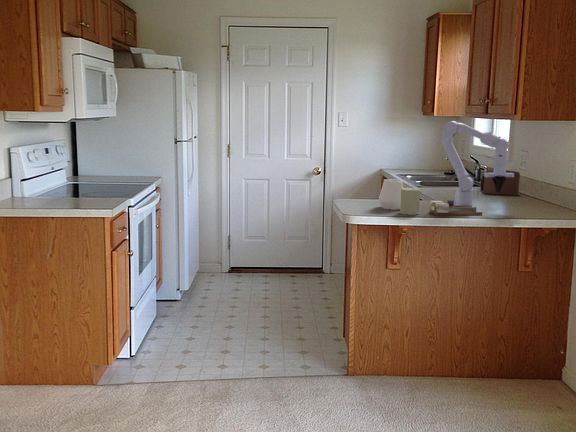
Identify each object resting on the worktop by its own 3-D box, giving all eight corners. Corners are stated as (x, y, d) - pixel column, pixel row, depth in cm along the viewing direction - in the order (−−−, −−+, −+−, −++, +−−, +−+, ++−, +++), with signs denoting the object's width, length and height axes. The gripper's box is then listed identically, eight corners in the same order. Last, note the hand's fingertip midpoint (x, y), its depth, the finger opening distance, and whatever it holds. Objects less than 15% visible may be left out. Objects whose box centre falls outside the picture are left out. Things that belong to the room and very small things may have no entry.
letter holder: (518, 195, 371) (520, 170, 369) (482, 193, 374) (484, 169, 371) (514, 192, 381) (516, 168, 378) (480, 191, 383) (481, 167, 381)
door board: (429, 212, 310) (430, 200, 309) (472, 211, 314) (473, 200, 313) (438, 215, 301) (438, 204, 300) (482, 215, 304) (483, 203, 303)
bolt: (431, 209, 307) (432, 200, 306) (451, 209, 308) (452, 200, 307) (434, 210, 304) (434, 201, 303) (454, 210, 305) (454, 201, 304)
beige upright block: (406, 215, 301) (408, 189, 298) (395, 211, 309) (397, 187, 307) (423, 214, 304) (424, 189, 302) (412, 210, 312) (413, 186, 310)
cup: (402, 211, 311) (404, 182, 308) (375, 209, 315) (376, 180, 313) (407, 207, 323) (409, 179, 321) (381, 204, 328) (382, 177, 325)
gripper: (490, 165, 308) (488, 193, 310) (518, 165, 310) (515, 193, 313) (483, 163, 315) (481, 191, 317) (510, 163, 317) (508, 190, 320)
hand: (497, 191), depth 316 cm, fingers closed
